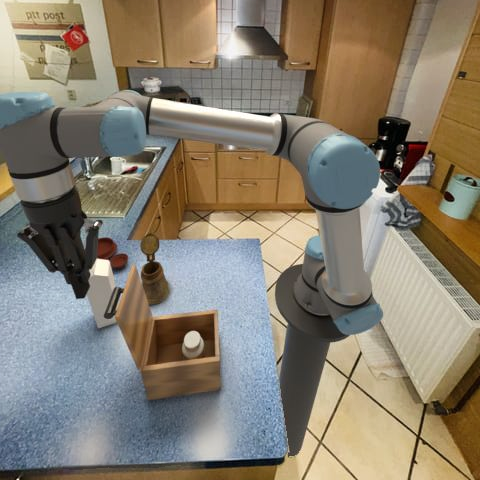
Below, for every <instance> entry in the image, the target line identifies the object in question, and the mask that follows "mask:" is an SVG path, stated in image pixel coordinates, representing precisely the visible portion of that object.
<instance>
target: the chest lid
mask: <svg viewBox="0 0 480 480" xmlns="http://www.w3.org/2000/svg"><path fill="white" fill-rule="evenodd" d="M119 299H120V303H119V306H118V309H117V310H116V307H117V304H118V301H119ZM150 306H151V305H150V304H149V303H148V300H147V297H146V294H145V291H144V288H143V285H142V280H141V276H140V273H139V271H138V268H137V265H136V264H132V265H131V267H130V271H129V273H128V276H127V279H126V282H125V285H124V287H123V288H122V287H120V286H116V287H115V288H114V289H113V292H112V295H111V297H110V300H109V303H108V305H107V308H106V311H105V313H104V318H106V319H111V318H113V316H115V319H116V321H117V323H116V324H117V326H118V328H119V330H120V332H121V334H122V337H123V340H124V341H125V344H126V346H127V348H128V351H129V353H130V355H131V358H132V360H133V362H134V364H135V367H136V369H137V371H141V370H142V366H143V361H144V356H145V351H146V346H147V341H148V336H149V331H150V325H151V320H152V317H153V312H152V310H151V307H150Z"/></svg>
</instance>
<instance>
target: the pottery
mask: <svg viewBox="0 0 480 480" xmlns="http://www.w3.org/2000/svg"><path fill="white" fill-rule="evenodd" d="M84 249H85V252H86V247H84ZM117 250H118V244H117V242H115V241H114V239H113V238H111V237H98V252H97V259H103V260H109V259H110V260H109V261H110V265H111V268H115V269H116V270H122V269H123V268H124V267H125V265H126V264H127V262H129V261H128V260H129V255H128V254H126V253H118V254H115V253H116V252H117ZM114 254H115V255H114Z"/></svg>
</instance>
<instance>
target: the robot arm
mask: <svg viewBox="0 0 480 480" xmlns="http://www.w3.org/2000/svg"><path fill="white" fill-rule="evenodd" d="M147 136H155V137H157V136H158V137H164V138H172V139H179V140H187V141H192V142H193V141H194V142H201V143H208V144H216V145H217V144H218V145H225V146H232V147H239V148H246V149H255V150H262V151H264V152H265V153H266V154H267V155H268V156H274V157H279V158H281V159H283V160H286V161H287V162H289V163H290V164H291V165H292V166H293V167H294V169H295V170H296V171H297V172H298V173H299V175H300V177H301V181H302V185H303V190H304V196H305V200H306V203H307V204H308V205H309V207H311V209H313V210H314V211H315V215H316V220H317V225H318V226H317V227H318V232H319V234H317V235H313V236H312V237H310V238H309V239H308V240H307V241H306V244H305V248H304V255H303V261H302V264H303V267H302V273H301V274H300V276H299V277H298V278H297V279H296V280H294V282H295V283H294V288H293V295H294V298H295V301H296V302H297V304H298V305H299V306H300V308H301V309H302V310H304V311H305V312H306V313H308V314H310V315H312V316H315V317H320V318H327V317H330V316H331V317H332V318H333V320H334V321H333V322H334V323H335V324H336V326H337V327H338V329H339V331H340V332H342V333H343V334H346V335H350V336H354V335H360V334H362V333H365V332H367V331H369V330H371V329H373V328H374V327H376V326H377V325H378V324H379V323H380V322H381V321H382V319H383V317H384V311H383V309H382V307H381V304H380V303H378V302H377V300H376V299H375V297H374V295H373V283H372V280H371V277H370V276H369V274H368V272H366V271H365V266H364V265H365V264H364V252H363V238H362V237H363V236H362V223H361V209H360V208H361V207H363V206H364V205H365V203H366V202H367V201H368V200H369V199H370V198H371V196H372V195H373V194H374V193H373V190H375V189H377V188H378V185H379V182H380V178H381V167H380V163H379V159H378V158H377V155H376V153H374V151H373V150H372V149H371V148H370V147H368V146H367V145H366V144H365V143H364V142H363V141H361V140H360V139H358V138H357V137H355V136H353V135H350V134H348V133H346V132H344V131H342V130H341V129H339V128H337V127H335V126H333V125H332V124H330V123H328V122H327V121H324V120H322V119H320V118H319V119H318V118H314V117H306V116H300V115H292V114H285V113H278V112H275V113H272V114H271V115H270V116H267V115H261V114H254V113H249V112H243V111H237V110H236V111H235V110H231V109H225V108H218V107H213V106H206V105H200V104H193V103H188V102H180V101H175V100H168V99H164V98H163V99H162V98H156V97H149V96H145V95H142V94H140V93H139V92H137V91H135V90H131V89H123V90H119V91H115V92H113V93H112V94H111V95H109V96H108V97H106V98H105V99H103V100H102V101H100V102H98V103H97V104H95V105H93V106H82V107H62V106H56V105H55V102H54V100H53V98H52V96H51V95H50V94H49V93H46V92H43V91H15V92H13V91H12V92H5V93H0V154H1V156H2V158H3V160H4V163H5V165H6V167H7V171H8V174H9V177H10V180H11V184H12V185H13V188H14V191H15V193H16V196H17V198H18V199H19V200H20V205H21V208H22V210H23V212H24V215H25V217H26V220H27V221H28V223H27V224H25V226H23V227H22V229H20V231H19V232H18V233H17V234H16V237H17V238H18V239H20V240H21V241H23V242H24V243H26V244H27V245H28V246H29V248H30V249H31V250H32V251H33V253H34V254H35V256H36V257H37V258H38V259H39V261H40V262H41V263H42V264H43V266H44V267H45V268H46V269H47V271H48V272H49V273H53V274H55V273H56V272H60V274H61V275H63V278H64V281H65V283H66V284H67V285H71V288H72V292H73V294H74V296H75V300H83V299H85V298H86V297H87V292H88V290H89V288H90V284H89V281H88V280H89V278H90V276H91V274H90V271H89V270H90V269H92V267H93V265H94V263H95V261H96V259H97V252H98V239H99V233H100V229H101V227H102V225H103V224H104V222H103V220H102V219H99V218H98V219H96V220H92V219H89V218H88V215H87V214H86V212H85V211H84V210H83V208H82V201H81V200H82V199H81V196H80V193H79V189H78V187H77V186H76V180H75V176H74V173H73V169H72V166H71V161H70V159H76V158H107V157H108V158H109V157H113V158H122V157H123V158H124V157H126V156H136V155H140V154H141V153H143V152H144V150H145V148H146V142H147ZM83 227H84V233H85V235H86V237H85V245H84V243H83V239H82V237H81V234H82V228H83ZM85 248H86V252H85Z"/></svg>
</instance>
